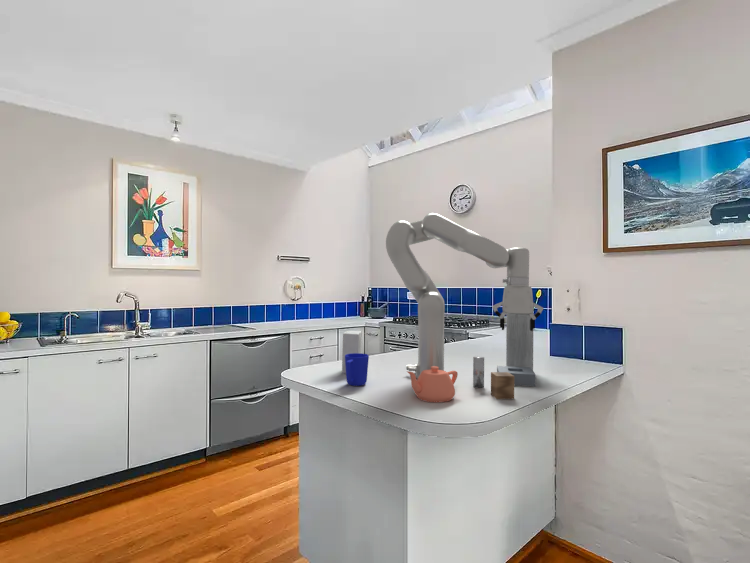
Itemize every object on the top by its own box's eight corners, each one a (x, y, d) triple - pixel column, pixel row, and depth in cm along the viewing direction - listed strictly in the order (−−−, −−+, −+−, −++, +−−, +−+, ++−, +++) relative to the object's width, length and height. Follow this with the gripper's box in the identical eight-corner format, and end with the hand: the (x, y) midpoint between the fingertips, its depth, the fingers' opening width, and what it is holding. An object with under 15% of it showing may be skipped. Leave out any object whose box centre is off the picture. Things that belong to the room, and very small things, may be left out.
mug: (335, 388, 136) (336, 358, 136) (350, 380, 147) (350, 352, 147) (358, 391, 133) (359, 360, 133) (371, 382, 144) (372, 354, 144)
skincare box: (346, 368, 167) (346, 330, 167) (362, 369, 166) (362, 330, 166) (341, 373, 159) (341, 332, 159) (358, 374, 158) (358, 333, 158)
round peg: (473, 388, 138) (473, 358, 138) (473, 385, 142) (473, 356, 142) (484, 388, 137) (484, 358, 137) (483, 386, 141) (484, 356, 141)
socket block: (499, 384, 144) (499, 372, 144) (496, 376, 156) (497, 365, 156) (535, 386, 141) (535, 374, 141) (530, 378, 153) (530, 367, 153)
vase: (537, 372, 163) (537, 303, 163) (527, 376, 155) (527, 304, 155) (512, 368, 169) (512, 302, 169) (501, 372, 162) (502, 303, 162)
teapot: (468, 400, 124) (468, 368, 124) (416, 407, 117) (416, 373, 117) (445, 390, 135) (446, 361, 135) (396, 396, 128) (397, 365, 128)
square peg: (496, 399, 125) (496, 376, 125) (490, 394, 131) (490, 372, 131) (514, 399, 126) (514, 376, 126) (507, 394, 131) (508, 372, 131)
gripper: (493, 282, 147) (492, 330, 147) (545, 282, 142) (544, 332, 142) (492, 282, 154) (491, 328, 154) (541, 282, 150) (541, 330, 150)
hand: (517, 330), depth 148 cm, fingers open, 9 cm apart
